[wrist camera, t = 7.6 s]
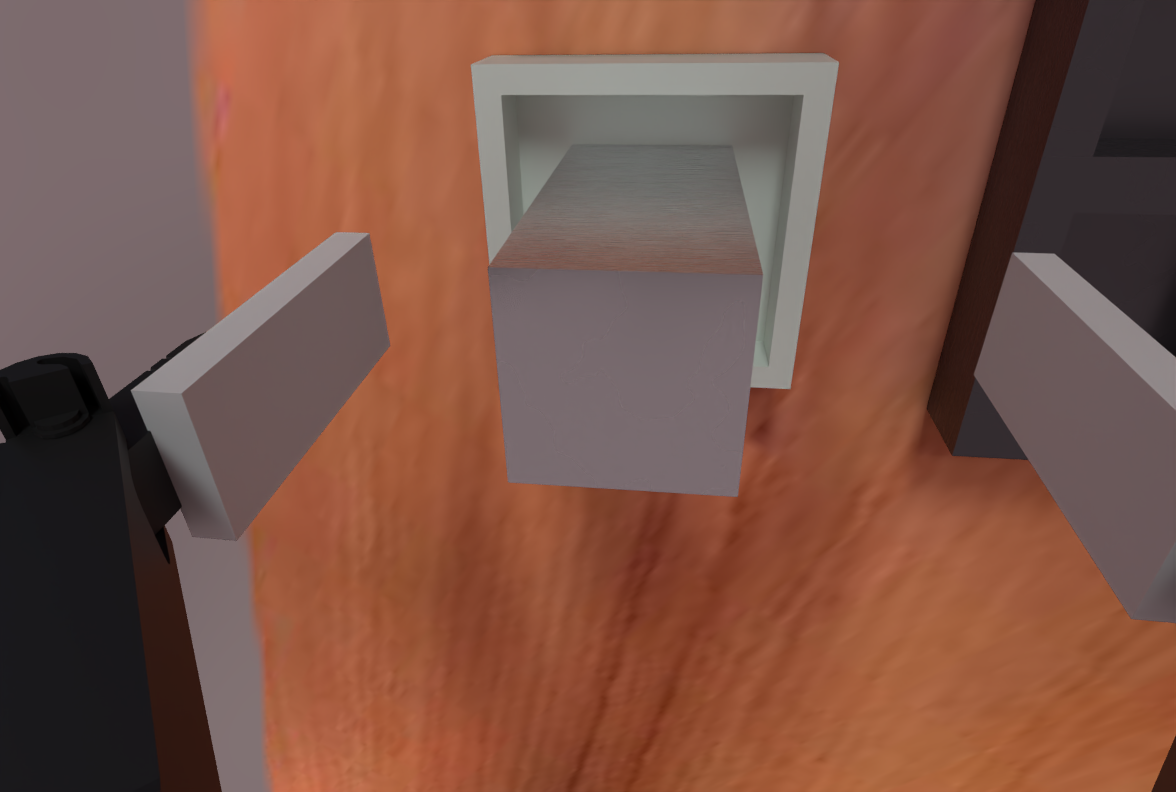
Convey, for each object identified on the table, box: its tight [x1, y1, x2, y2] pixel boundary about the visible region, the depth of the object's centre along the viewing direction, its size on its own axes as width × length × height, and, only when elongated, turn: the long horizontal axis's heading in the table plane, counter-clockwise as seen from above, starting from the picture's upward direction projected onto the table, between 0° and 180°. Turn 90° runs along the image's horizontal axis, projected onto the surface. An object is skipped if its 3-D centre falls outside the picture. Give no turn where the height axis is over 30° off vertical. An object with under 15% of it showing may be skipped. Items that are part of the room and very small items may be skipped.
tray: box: [471, 53, 839, 389], centre depth 23 cm, size 10×10×2 cm
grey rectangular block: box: [488, 144, 763, 497], centre depth 19 cm, size 5×5×11 cm
